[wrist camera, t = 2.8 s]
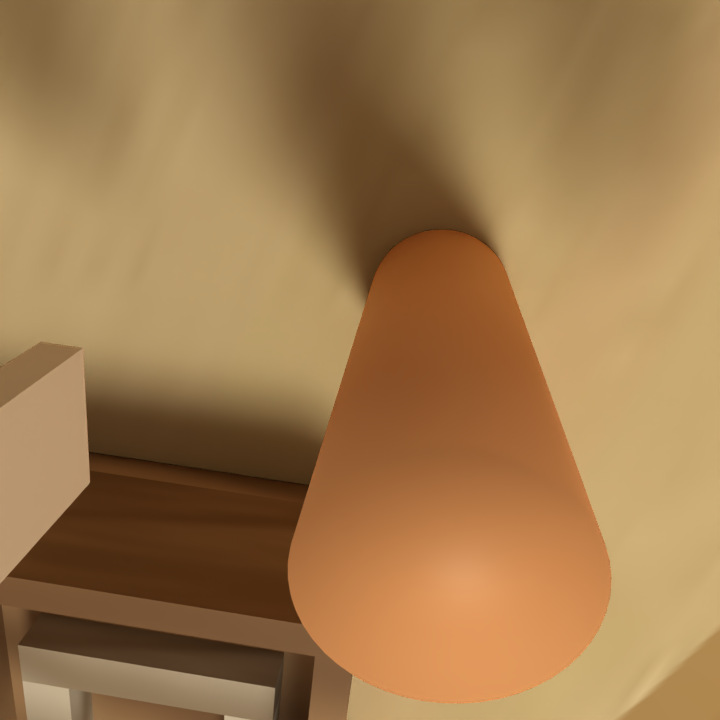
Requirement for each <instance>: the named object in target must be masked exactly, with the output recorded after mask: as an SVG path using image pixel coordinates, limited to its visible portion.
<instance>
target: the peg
mask: <svg viewBox="0 0 720 720" xmlns="http://www.w3.org/2000/svg"><path fill="white" fill-rule="evenodd" d="M288 582H289V589H290V595H291V598H292V601H293V604H294V607H295V610H296V612H297V614H298V616H299V618H300V620H301V622H302V624H303V626H304V627H305V629H306V630H307V632H308V633H309V635H310V636H311V638H312V639H313V640H314V642H315V643H316V644H317V645H318V646H319V647H320V648H321V649H322V651H323V652H324V653H325V654H326V655H328V656H329V657H330V658H331V659H332V660H333V661H334V662H335V663H337V664H338V665H339V666H341V667H342V668H344V669H345V670H346V671H348V672H349V673H351V674H352V675H354V676H356V677H357V678H359V679H361V680H363V681H365V682H366V683H368V684H371V685H373V686H375V687H377V688H380V689H382V690H384V691H387V692H390V693H394V694H397V695H400V696H403V697H407V698H412V699H417V700H421V701H429V702H438V703H473V702H483V701H489V700H495V699H500V698H504V697H507V696H511V695H514V694H518V693H520V692H523V691H525V690H528V689H530V688H533V687H535V686H537V685H539V684H541V683H543V682H545V681H547V680H549V679H550V678H552V677H554V676H555V675H556V674H558V673H559V672H561V671H562V670H564V669H565V668H566V667H568V666H569V665H570V664H571V663H572V662H573V661H574V660H575V659H576V658H577V657H579V656H580V654H581V653H582V652H583V651H584V650H585V649H586V647H587V646H588V645H589V644H590V643H591V641H592V639H593V638H594V636H595V635H596V633H597V631H598V630H599V628H600V626H601V624H602V621H603V619H604V616H605V614H606V611H607V607H608V603H609V599H610V593H611V569H610V560H609V557H608V553H607V550H606V546H605V543H604V540H603V537H602V534H601V532H600V529H599V526H598V523H597V521H596V518H595V515H594V512H593V510H592V507H591V504H590V501H589V499H588V496H587V493H586V490H585V488H584V485H583V482H582V479H581V477H580V474H579V471H578V468H577V466H576V463H575V460H574V457H573V455H572V452H571V449H570V446H569V444H568V441H567V438H566V435H565V433H564V430H563V427H562V424H561V422H560V419H559V416H558V413H557V411H556V408H555V405H554V402H553V400H552V397H551V394H550V391H549V389H548V386H547V383H546V380H545V378H544V375H543V372H542V369H541V367H540V364H539V361H538V358H537V356H536V353H535V350H534V347H533V345H532V342H531V339H530V336H529V334H528V331H527V328H526V325H525V323H524V320H523V317H522V314H521V312H520V309H519V306H518V303H517V301H516V298H515V295H514V292H513V290H512V287H511V284H510V281H509V279H508V276H507V273H506V271H505V269H504V267H503V264H502V263H501V261H500V260H499V258H498V257H497V256H496V254H495V253H494V252H493V251H492V250H491V249H490V248H489V247H488V246H487V245H486V244H484V243H483V242H481V241H480V240H478V239H477V238H475V237H473V236H470V235H468V234H465V233H462V232H459V231H454V230H444V229H439V230H429V231H424V232H421V233H418V234H415V235H412V236H410V237H408V238H406V239H404V240H403V241H401V242H400V243H398V244H397V245H396V246H395V247H393V248H392V249H391V250H390V251H389V252H388V253H387V255H386V256H385V257H384V258H383V260H382V261H381V263H380V264H379V266H378V268H377V270H376V272H375V275H374V278H373V281H372V285H371V288H370V291H369V294H368V298H367V301H366V304H365V307H364V310H363V314H362V317H361V320H360V323H359V327H358V330H357V333H356V336H355V339H354V343H353V346H352V349H351V352H350V356H349V359H348V362H347V365H346V368H345V372H344V375H343V378H342V381H341V385H340V388H339V391H338V394H337V397H336V401H335V404H334V407H333V410H332V414H331V417H330V420H329V423H328V426H327V430H326V433H325V436H324V439H323V443H322V446H321V449H320V452H319V455H318V459H317V462H316V465H315V468H314V472H313V475H312V478H311V481H310V484H309V488H308V491H307V494H306V497H305V501H304V504H303V507H302V510H301V513H300V517H299V520H298V523H297V526H296V530H295V533H294V536H293V539H292V542H291V546H290V552H289V558H288Z"/></svg>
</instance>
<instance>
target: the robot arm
mask: <svg viewBox="0 0 720 720" xmlns="http://www.w3.org/2000/svg"><path fill="white" fill-rule="evenodd" d="M89 483H90V471H89V452H88V433H87V414H86V394H85V375H84V356H83V348H79V347H72V346H65V345H58V344H51V343H45V342H40V343H38V344H37V345H35V346H34V347H32V348H30V349H29V350H27V351H26V352H24V353H23V354H21V355H19V356H18V357H16V358H15V359H13V360H11V361H10V362H8V363H7V364H5V365H3V366H2V367H0V583H1V582H2V581H3V580H4V579H5V578H6V577H7V576H8V574H9V573H10V572H11V571H12V570H13V569H14V568H15V567H16V565H17V564H18V563H19V562H20V561H21V560H22V559H23V558H24V556H25V555H26V554H27V553H28V552H29V551H30V550H31V549H32V547H33V546H34V545H35V544H36V543H37V542H38V541H39V540H40V538H41V537H42V536H43V535H44V534H45V533H46V532H47V531H48V529H49V528H50V527H51V526H52V525H53V524H54V523H55V522H56V520H57V519H58V518H59V517H60V516H61V515H62V514H63V513H64V511H65V510H66V509H67V508H68V507H69V506H70V505H71V504H72V502H73V501H74V500H75V499H76V498H77V497H78V496H79V495H80V493H81V492H82V491H83V490H84V489H85V488H86V487H87V486H88V484H89Z"/></svg>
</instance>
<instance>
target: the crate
mask: <svg viewBox="0 0 720 720" xmlns="http://www.w3.org/2000/svg"><path fill="white" fill-rule="evenodd" d="M89 471H90V483H89V484H88V486H87V487H86V488H85V489H84V490H83V491H82V492H81V493H80V495H79V496H78V497H77V498H76V499H75V500H74V501H73V502H72V504H71V505H70V506H69V507H68V508H67V509H66V510H65V511H64V513H63V514H62V515H61V516H60V517H59V518H58V519H57V520H56V522H55V523H54V524H53V525H52V526H51V527H50V528H49V529H48V531H47V532H46V533H45V534H44V535H43V536H42V537H41V538H40V540H39V541H38V542H37V543H36V544H35V545H34V546H33V547H32V549H31V550H30V551H29V552H28V553H27V554H26V555H25V556H24V558H23V559H22V560H21V561H20V562H19V563H18V564H17V565H16V567H15V568H14V569H13V570H12V571H11V572H10V573H9V574H8V576H7V577H6V578H5V579H4V580H3V581H2V582H1V583H0V720H346V716H347V709H348V702H349V694H350V687H351V680H352V674H351V673H349V672H348V671H346V670H345V669H344V668H342V667H341V666H339V665H338V664H337V663H335V662H334V661H333V660H332V659H331V658H330V657H329V656H328V655H326V654H325V653H324V652H323V651H322V649H321V648H320V647H319V646H318V645H317V644H316V643H315V642H314V640H313V639H312V638H311V636H310V635H309V633H308V632H307V630H306V629H305V627H304V626H303V624H302V622H301V620H300V618H299V616H298V614H297V612H296V610H295V607H294V604H293V601H292V598H291V595H290V589H289V582H288V558H289V552H290V546H291V542H292V539H293V536H294V533H295V530H296V526H297V523H298V520H299V517H300V513H301V510H302V507H303V504H304V501H305V497H306V494H307V491H308V488H309V485H303V484H296V483H289V482H283V481H276V480H269V479H263V478H256V477H249V476H243V475H236V474H229V473H223V472H216V471H210V470H203V469H196V468H190V467H183V466H176V465H170V464H163V463H156V462H150V461H143V460H136V459H130V458H123V457H116V456H110V455H103V454H96V453H90V452H89Z"/></svg>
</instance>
